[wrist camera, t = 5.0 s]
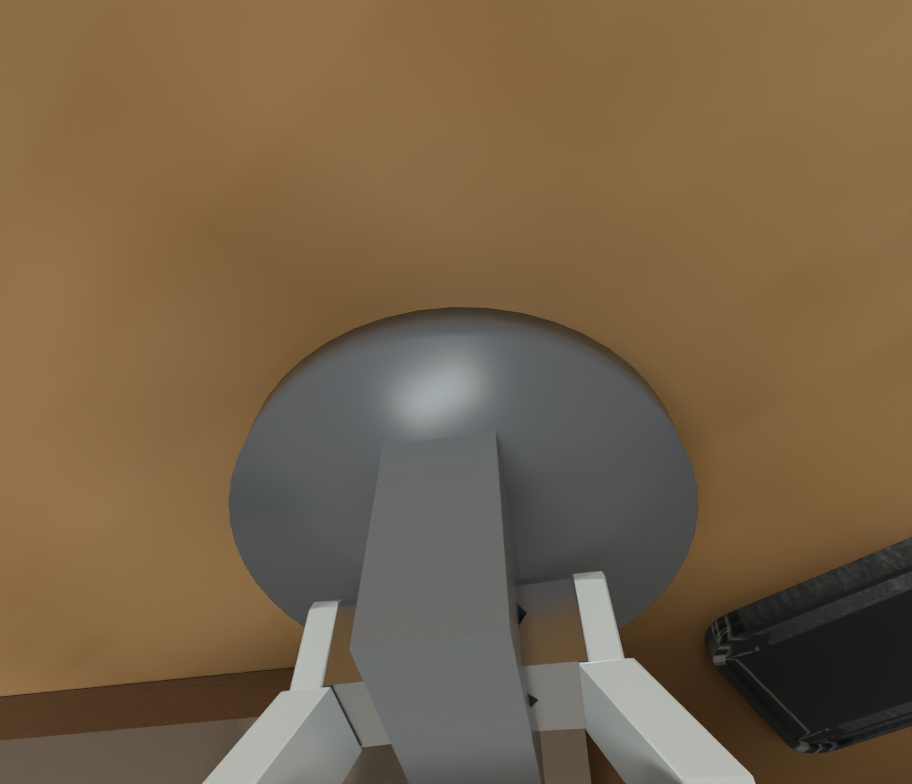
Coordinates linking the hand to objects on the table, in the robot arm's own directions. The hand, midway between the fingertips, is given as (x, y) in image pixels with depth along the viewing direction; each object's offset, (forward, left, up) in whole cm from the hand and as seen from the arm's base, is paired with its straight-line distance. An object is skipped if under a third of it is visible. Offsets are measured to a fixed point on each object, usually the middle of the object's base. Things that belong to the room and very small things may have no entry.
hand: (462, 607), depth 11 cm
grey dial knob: (0, 0, -5) cm, 5 cm away
